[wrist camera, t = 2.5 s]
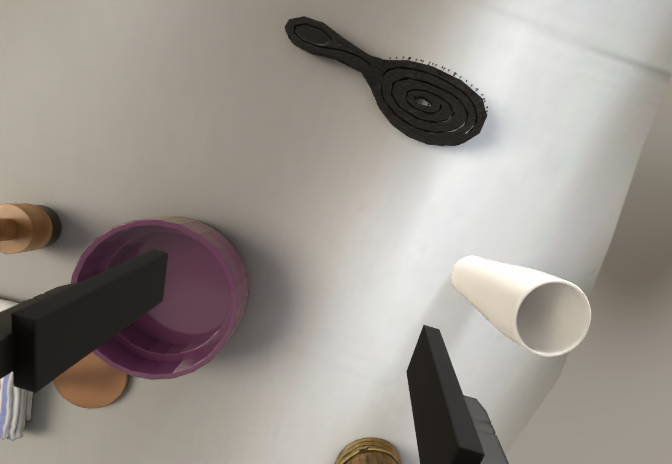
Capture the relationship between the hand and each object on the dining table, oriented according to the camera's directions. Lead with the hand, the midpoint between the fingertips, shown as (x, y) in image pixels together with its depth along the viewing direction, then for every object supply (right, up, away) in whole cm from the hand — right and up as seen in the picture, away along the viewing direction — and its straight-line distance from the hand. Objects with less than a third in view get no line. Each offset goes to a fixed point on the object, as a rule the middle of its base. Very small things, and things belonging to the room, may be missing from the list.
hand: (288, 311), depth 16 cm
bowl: (-17, -3, +24) cm, 29 cm away
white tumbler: (+19, -2, +25) cm, 32 cm away
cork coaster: (-28, -14, +25) cm, 40 cm away
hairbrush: (+8, +22, +23) cm, 32 cm away
